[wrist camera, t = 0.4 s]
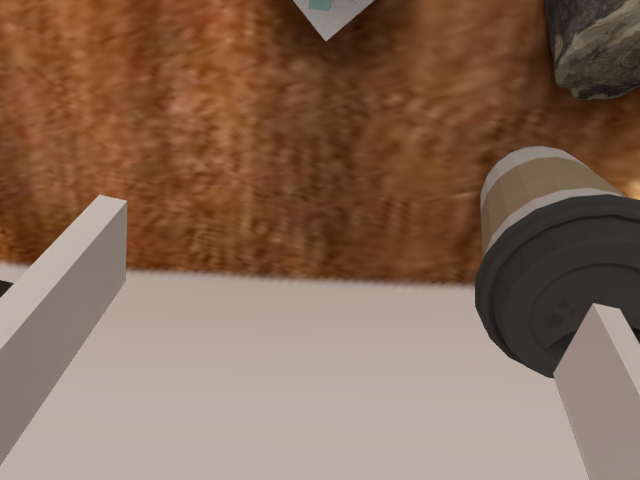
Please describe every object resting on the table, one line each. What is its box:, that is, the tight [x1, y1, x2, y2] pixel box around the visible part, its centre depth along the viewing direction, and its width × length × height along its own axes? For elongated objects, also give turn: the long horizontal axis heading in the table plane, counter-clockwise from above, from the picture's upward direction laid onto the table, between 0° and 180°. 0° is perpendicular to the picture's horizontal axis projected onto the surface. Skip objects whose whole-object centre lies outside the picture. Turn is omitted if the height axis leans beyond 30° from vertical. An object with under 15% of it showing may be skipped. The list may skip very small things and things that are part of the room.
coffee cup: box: [475, 146, 640, 379], centre depth 36 cm, size 11×11×15 cm
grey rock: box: [544, 0, 640, 100], centre depth 33 cm, size 11×9×10 cm
